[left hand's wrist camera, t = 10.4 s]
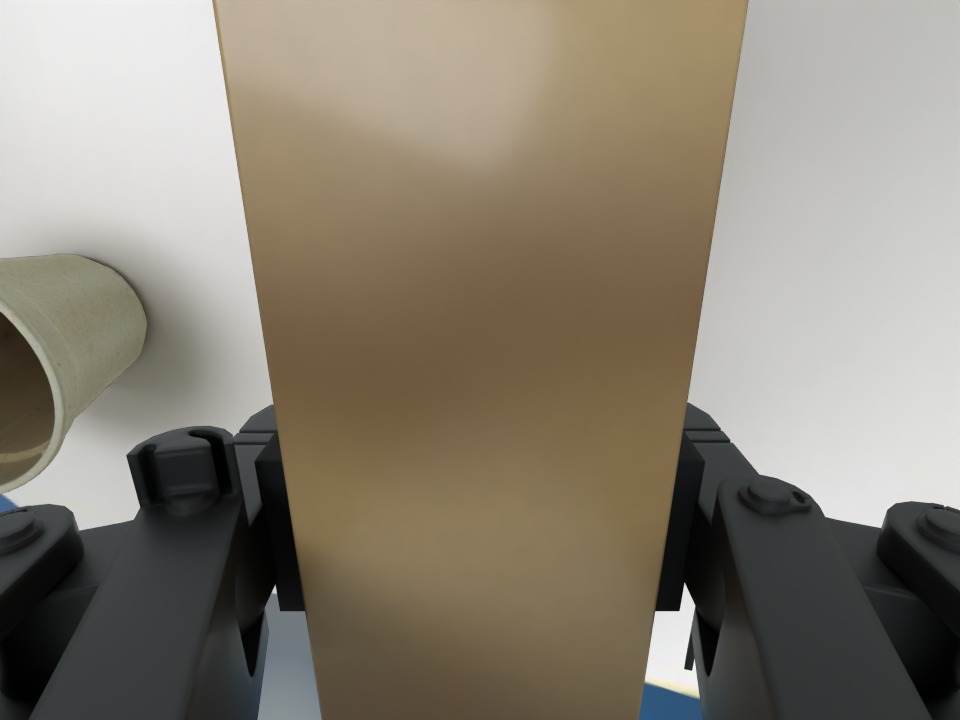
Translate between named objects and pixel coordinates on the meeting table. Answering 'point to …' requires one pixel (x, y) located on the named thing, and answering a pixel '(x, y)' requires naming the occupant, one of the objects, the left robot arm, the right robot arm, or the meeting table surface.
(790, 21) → the meeting table surface
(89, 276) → the flower pot
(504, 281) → the bar
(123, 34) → the meeting table surface
